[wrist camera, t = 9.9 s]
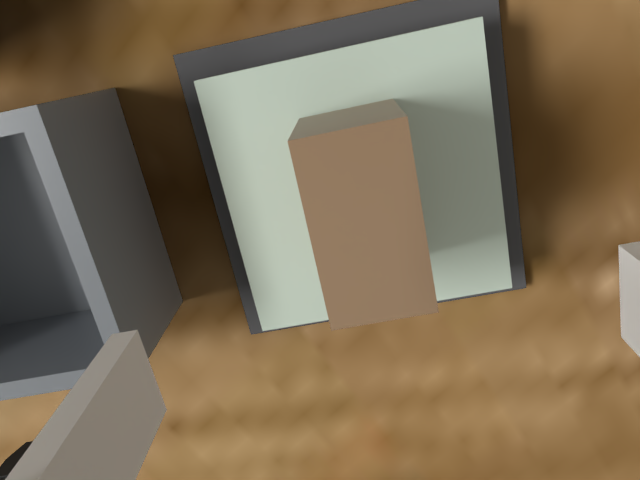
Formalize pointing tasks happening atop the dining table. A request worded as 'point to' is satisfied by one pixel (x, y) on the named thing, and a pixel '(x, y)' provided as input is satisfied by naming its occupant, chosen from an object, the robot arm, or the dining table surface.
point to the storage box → (74, 243)
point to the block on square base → (363, 177)
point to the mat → (429, 11)
